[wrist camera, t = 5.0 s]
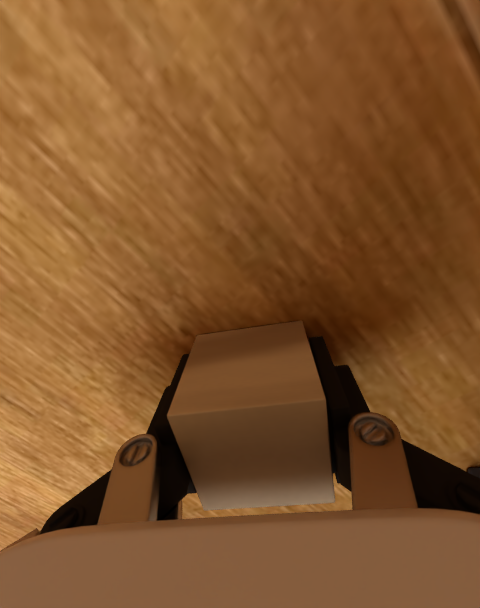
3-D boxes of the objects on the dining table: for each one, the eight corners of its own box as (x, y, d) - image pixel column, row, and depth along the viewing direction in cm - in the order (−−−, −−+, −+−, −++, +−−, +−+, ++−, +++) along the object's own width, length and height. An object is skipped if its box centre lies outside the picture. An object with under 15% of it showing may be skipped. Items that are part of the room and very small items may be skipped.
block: (196, 334, 12) (166, 416, 8) (302, 320, 11) (326, 398, 7) (219, 412, 14) (203, 511, 10) (312, 403, 13) (335, 503, 9)
